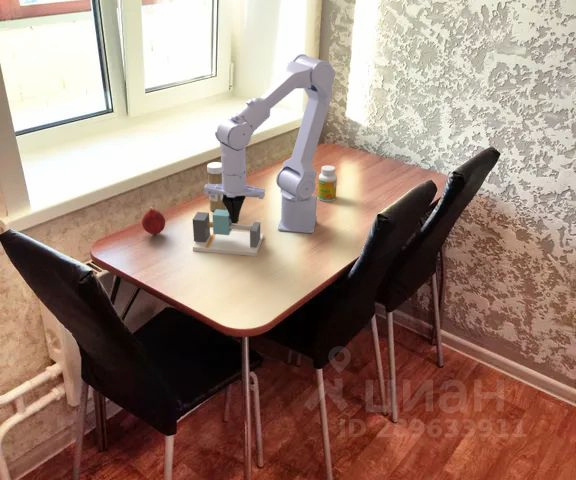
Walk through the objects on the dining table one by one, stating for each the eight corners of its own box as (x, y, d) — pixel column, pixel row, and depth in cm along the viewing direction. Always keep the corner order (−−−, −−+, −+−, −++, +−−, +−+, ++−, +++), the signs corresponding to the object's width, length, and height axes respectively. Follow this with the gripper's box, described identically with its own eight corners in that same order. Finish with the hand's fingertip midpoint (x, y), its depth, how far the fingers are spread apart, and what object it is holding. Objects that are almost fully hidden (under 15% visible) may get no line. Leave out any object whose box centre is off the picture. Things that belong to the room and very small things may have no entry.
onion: (170, 231, 152) (167, 204, 148) (159, 242, 147) (156, 213, 143) (150, 228, 153) (148, 200, 149) (139, 237, 148) (135, 210, 144)
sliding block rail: (263, 237, 150) (263, 212, 147) (256, 256, 141) (255, 230, 138) (202, 231, 152) (200, 206, 148) (191, 250, 143) (189, 224, 140)
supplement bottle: (315, 200, 170) (316, 169, 166) (320, 193, 175) (322, 163, 170) (332, 203, 169) (334, 172, 164) (337, 196, 173) (340, 166, 168)
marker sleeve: (232, 229, 146) (231, 210, 144) (229, 235, 144) (228, 216, 141) (216, 227, 147) (215, 209, 144) (213, 233, 144) (212, 215, 141)
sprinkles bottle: (228, 210, 164) (226, 165, 157) (213, 213, 161) (211, 168, 155) (220, 204, 167) (219, 160, 160) (206, 207, 165) (204, 163, 158)
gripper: (199, 175, 134) (202, 226, 141) (260, 179, 132) (260, 231, 139) (207, 164, 140) (210, 214, 147) (266, 168, 138) (266, 218, 145)
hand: (235, 221), depth 143 cm, fingers closed
